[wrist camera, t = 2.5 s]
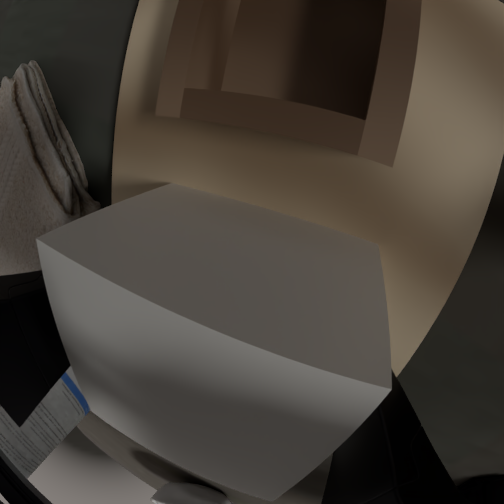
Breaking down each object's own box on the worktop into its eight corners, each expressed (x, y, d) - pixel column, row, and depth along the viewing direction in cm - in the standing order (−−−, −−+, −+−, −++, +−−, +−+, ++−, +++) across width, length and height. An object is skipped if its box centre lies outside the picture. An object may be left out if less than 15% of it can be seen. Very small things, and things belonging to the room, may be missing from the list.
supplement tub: (49, 319, 19) (-63, 412, 7) (114, 404, 21) (24, 506, 8) (31, 335, 24) (-50, 404, 11) (80, 400, 26) (10, 474, 13)
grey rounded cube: (309, 389, 10) (271, 501, 6) (166, 331, 12) (91, 411, 7) (378, 244, 7) (391, 389, 3) (172, 182, 9) (35, 238, 4)
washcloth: (118, 198, 12) (66, 218, 9) (38, 306, 21) (15, 323, 18) (44, 50, 10) (3, 50, 7) (-11, 205, 19) (-34, 215, 16)
